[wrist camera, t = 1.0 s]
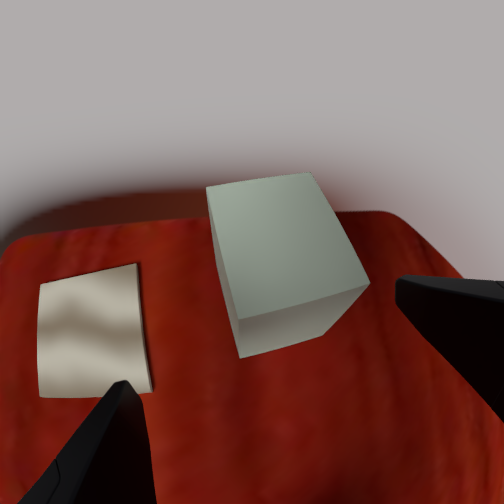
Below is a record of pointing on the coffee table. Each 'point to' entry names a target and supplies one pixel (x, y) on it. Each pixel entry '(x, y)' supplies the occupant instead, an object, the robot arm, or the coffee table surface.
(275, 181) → the bulging sage box
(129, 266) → the birch coaster
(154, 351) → the coffee table surface
